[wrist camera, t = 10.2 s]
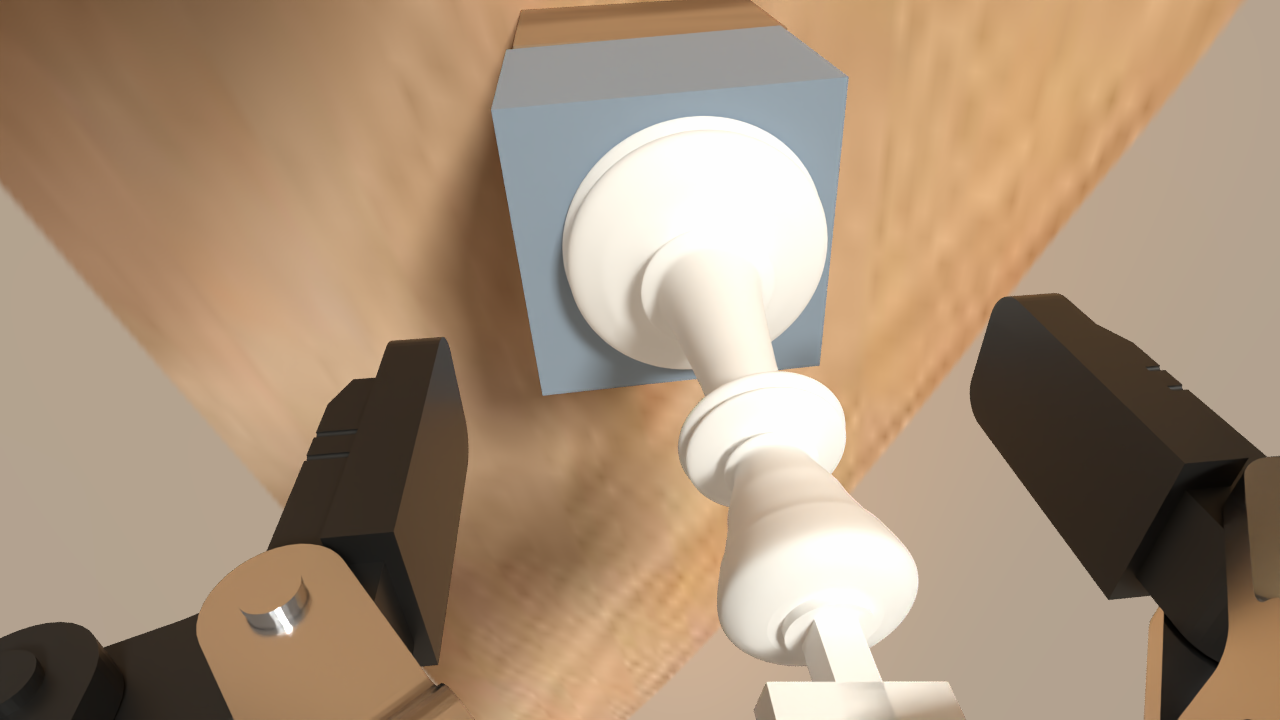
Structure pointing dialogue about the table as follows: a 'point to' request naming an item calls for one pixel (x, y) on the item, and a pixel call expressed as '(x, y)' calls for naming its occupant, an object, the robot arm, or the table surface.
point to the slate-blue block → (616, 109)
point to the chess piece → (750, 400)
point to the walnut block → (635, 21)
